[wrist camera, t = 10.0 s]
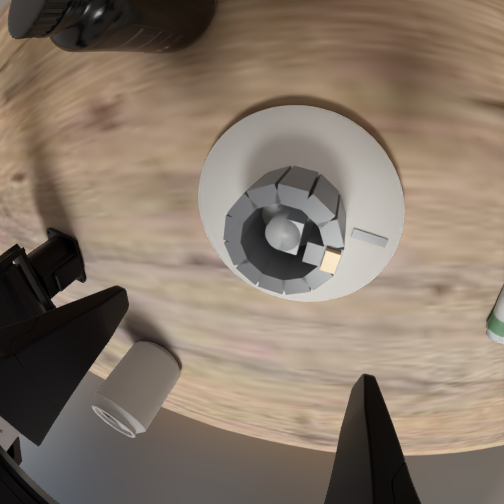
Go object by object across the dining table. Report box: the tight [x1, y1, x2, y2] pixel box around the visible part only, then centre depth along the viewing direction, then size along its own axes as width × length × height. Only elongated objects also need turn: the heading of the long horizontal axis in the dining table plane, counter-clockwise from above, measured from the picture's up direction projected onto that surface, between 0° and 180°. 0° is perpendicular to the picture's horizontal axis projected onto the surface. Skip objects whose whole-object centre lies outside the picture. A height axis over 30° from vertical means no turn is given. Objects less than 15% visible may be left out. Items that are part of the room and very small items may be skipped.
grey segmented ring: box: [223, 166, 346, 295], centre depth 16 cm, size 6×6×4 cm
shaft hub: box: [198, 105, 405, 302], centre depth 17 cm, size 14×14×4 cm
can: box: [92, 341, 180, 438], centre depth 30 cm, size 8×8×12 cm
